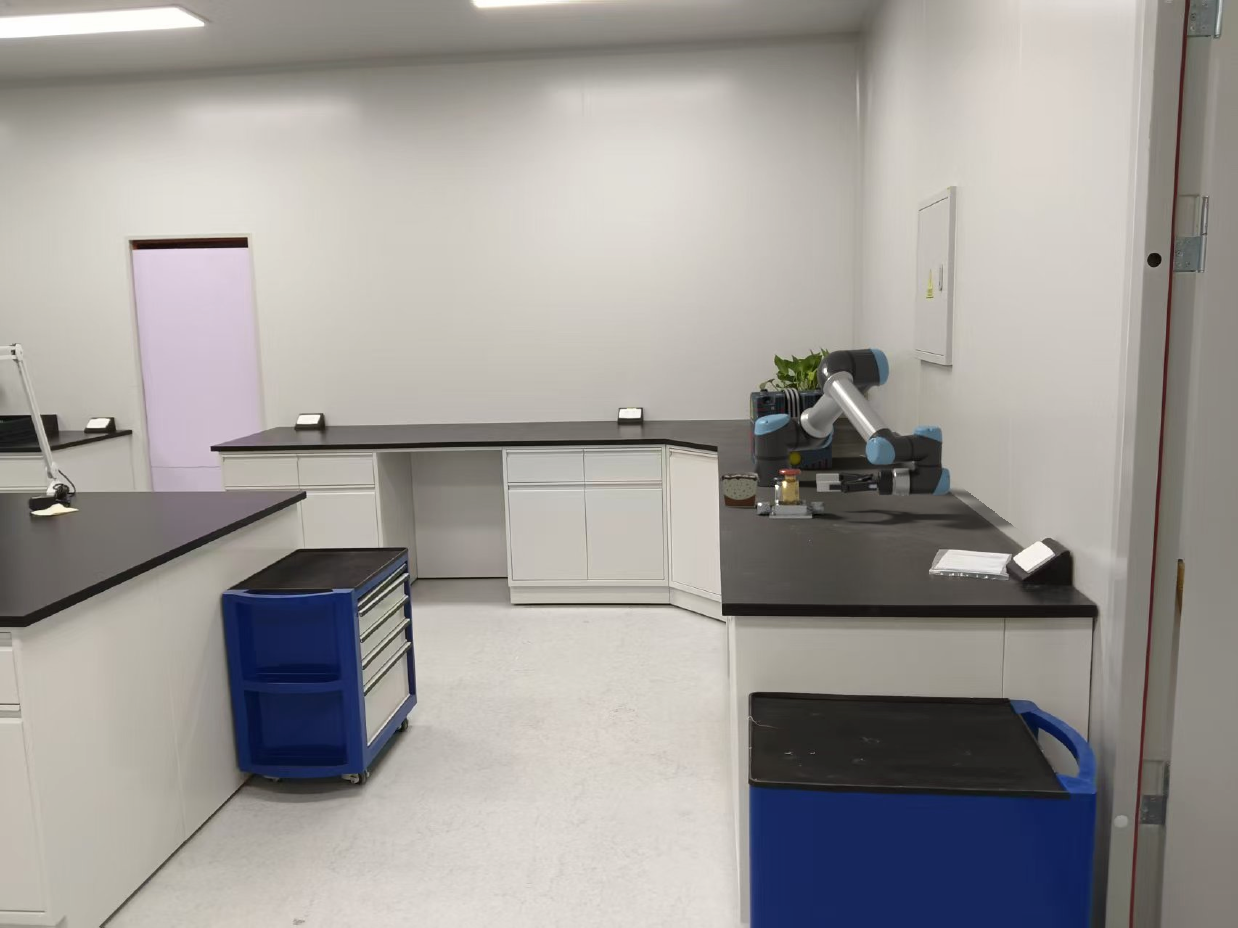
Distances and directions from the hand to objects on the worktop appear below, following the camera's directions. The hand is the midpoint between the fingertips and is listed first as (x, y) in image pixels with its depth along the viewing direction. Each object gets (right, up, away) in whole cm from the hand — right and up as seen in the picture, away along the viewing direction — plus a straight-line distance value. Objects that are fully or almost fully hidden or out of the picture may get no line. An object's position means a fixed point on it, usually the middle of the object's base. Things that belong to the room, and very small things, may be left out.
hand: (816, 482), depth 282 cm
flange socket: (-7, -9, +3) cm, 12 cm away
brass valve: (-7, -9, +3) cm, 11 cm away
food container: (-19, -8, +19) cm, 28 cm away
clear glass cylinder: (-8, -7, +16) cm, 19 cm away
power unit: (+9, +5, +96) cm, 97 cm away
